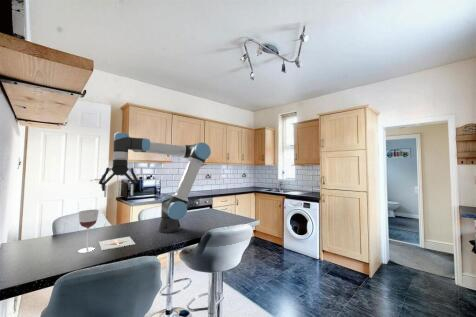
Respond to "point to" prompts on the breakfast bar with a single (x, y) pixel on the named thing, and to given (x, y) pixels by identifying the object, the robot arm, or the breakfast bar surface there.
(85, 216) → the wineglass
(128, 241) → the mat
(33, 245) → the breakfast bar surface
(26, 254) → the breakfast bar surface
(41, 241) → the breakfast bar surface
